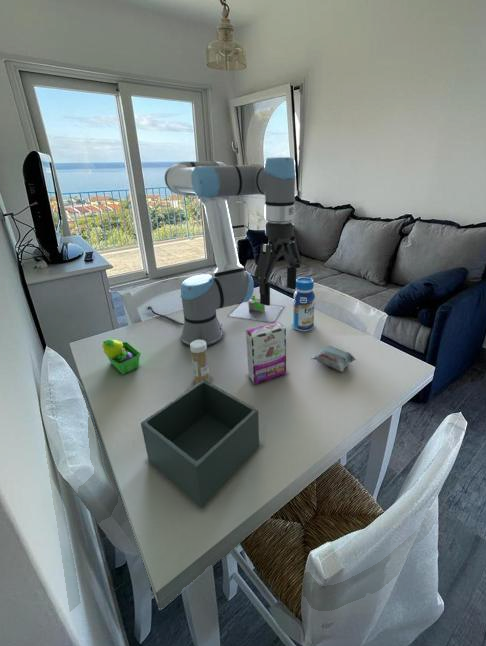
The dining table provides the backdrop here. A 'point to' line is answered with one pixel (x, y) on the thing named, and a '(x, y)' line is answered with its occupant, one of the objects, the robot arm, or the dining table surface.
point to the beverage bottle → (303, 304)
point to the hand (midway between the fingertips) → (278, 295)
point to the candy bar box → (266, 352)
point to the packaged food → (334, 357)
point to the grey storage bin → (201, 439)
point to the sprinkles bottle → (199, 361)
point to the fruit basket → (121, 355)
